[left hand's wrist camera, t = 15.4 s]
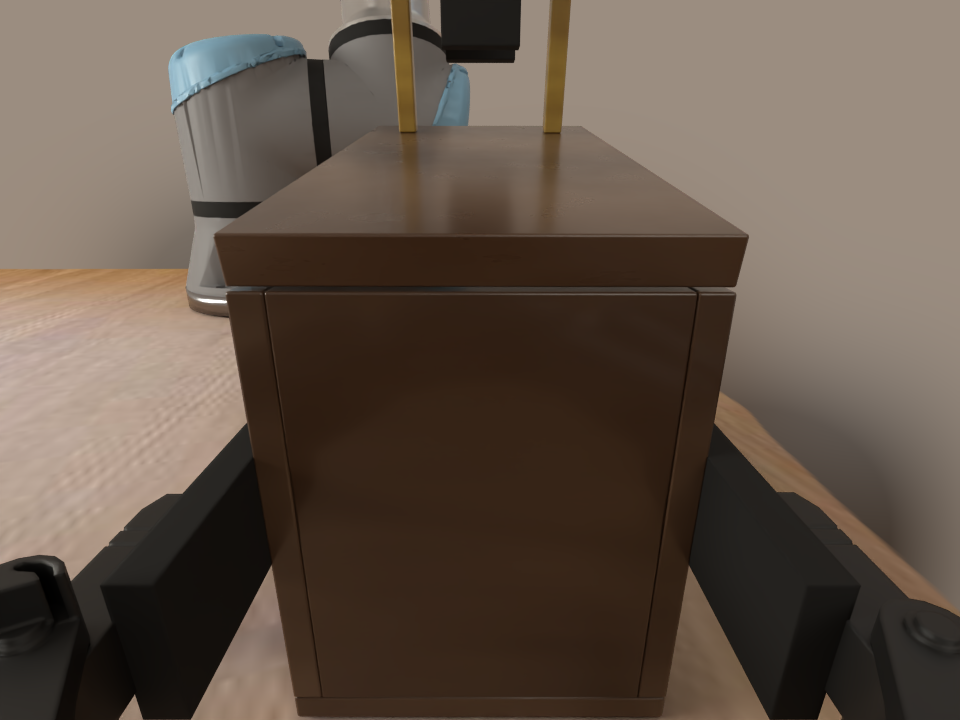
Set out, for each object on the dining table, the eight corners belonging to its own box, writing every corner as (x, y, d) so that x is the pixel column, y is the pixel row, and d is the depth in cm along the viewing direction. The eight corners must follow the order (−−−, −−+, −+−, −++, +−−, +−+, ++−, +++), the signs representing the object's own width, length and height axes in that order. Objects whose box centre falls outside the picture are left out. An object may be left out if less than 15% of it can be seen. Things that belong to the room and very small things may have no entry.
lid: (380, 148, 24) (358, -102, 20) (579, 149, 24) (602, -101, 20) (224, 287, 9) (0, -578, 5) (737, 288, 9) (965, -575, 5)
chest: (395, 419, 29) (383, 213, 25) (563, 419, 29) (576, 213, 25) (296, 718, 13) (223, 291, 9) (662, 718, 13) (738, 292, 9)
